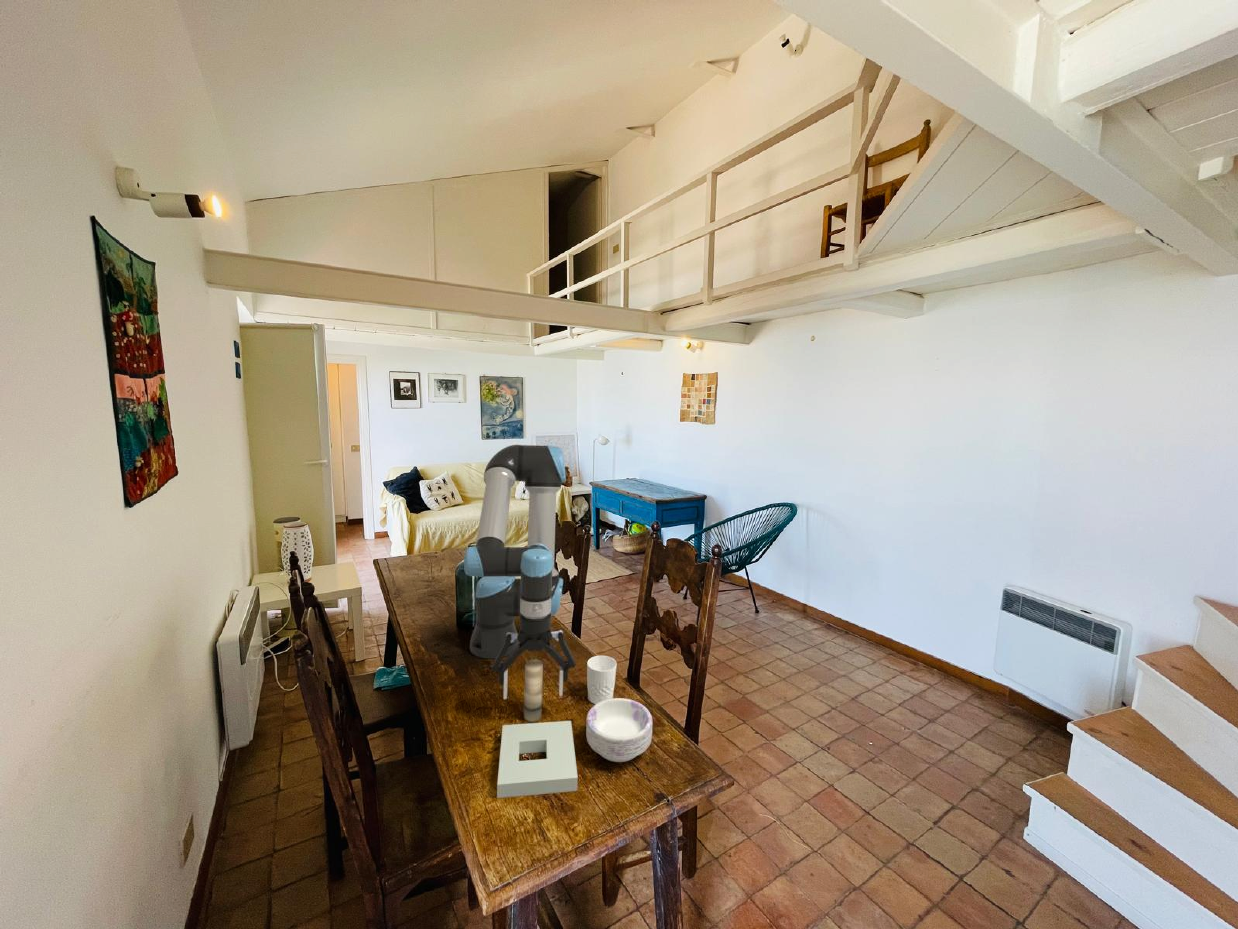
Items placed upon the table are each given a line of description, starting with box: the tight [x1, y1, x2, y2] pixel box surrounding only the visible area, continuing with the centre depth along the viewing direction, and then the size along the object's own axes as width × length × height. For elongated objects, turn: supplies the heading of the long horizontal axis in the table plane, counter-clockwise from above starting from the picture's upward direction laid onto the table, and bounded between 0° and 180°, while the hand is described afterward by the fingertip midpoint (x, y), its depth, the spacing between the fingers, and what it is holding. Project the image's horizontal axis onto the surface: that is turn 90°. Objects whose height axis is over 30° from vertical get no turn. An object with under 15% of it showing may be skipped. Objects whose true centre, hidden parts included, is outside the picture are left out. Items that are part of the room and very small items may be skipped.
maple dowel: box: [523, 659, 544, 723], centre depth 123 cm, size 5×5×14 cm
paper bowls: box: [585, 697, 654, 763], centre depth 114 cm, size 15×15×8 cm
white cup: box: [586, 655, 618, 705], centre depth 132 cm, size 8×8×10 cm
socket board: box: [496, 720, 578, 799], centre depth 108 cm, size 18×16×3 cm
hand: (533, 694), depth 123 cm, fingers open, 13 cm apart
